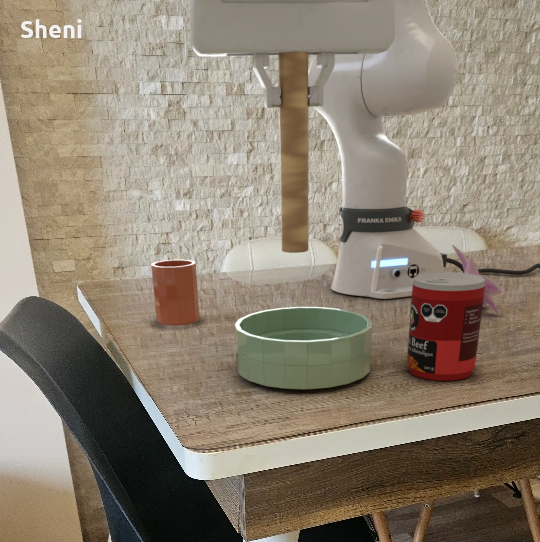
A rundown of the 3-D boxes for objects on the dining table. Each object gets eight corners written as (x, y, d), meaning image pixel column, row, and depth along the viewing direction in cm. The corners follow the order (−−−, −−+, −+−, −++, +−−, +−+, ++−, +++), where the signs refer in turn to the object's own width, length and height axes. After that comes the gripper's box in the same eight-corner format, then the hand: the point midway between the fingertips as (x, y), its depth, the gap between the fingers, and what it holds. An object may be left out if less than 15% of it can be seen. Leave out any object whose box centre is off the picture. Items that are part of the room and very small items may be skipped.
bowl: (349, 348, 90) (350, 303, 87) (388, 388, 76) (391, 336, 73) (230, 356, 87) (228, 311, 85) (247, 399, 73) (244, 346, 71)
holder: (198, 316, 108) (193, 258, 103) (201, 326, 102) (196, 266, 97) (156, 319, 107) (151, 260, 102) (157, 329, 101) (151, 268, 97)
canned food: (399, 363, 83) (405, 273, 78) (461, 360, 84) (471, 270, 79) (416, 383, 77) (424, 286, 71) (483, 380, 77) (496, 283, 72)
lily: (493, 333, 98) (528, 272, 96) (422, 298, 99) (454, 237, 97) (484, 337, 110) (514, 282, 108) (420, 305, 111) (449, 251, 109)
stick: (305, 247, 76) (304, 40, 67) (310, 252, 74) (311, 37, 64) (279, 249, 76) (275, 41, 67) (284, 253, 73) (281, 37, 64)
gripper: (388, -54, 66) (381, 105, 72) (181, -56, 63) (193, 110, 70) (410, -71, 60) (400, 103, 67) (185, -74, 58) (197, 108, 64)
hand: (293, 107), depth 68 cm, fingers closed on stick, 3 cm apart
